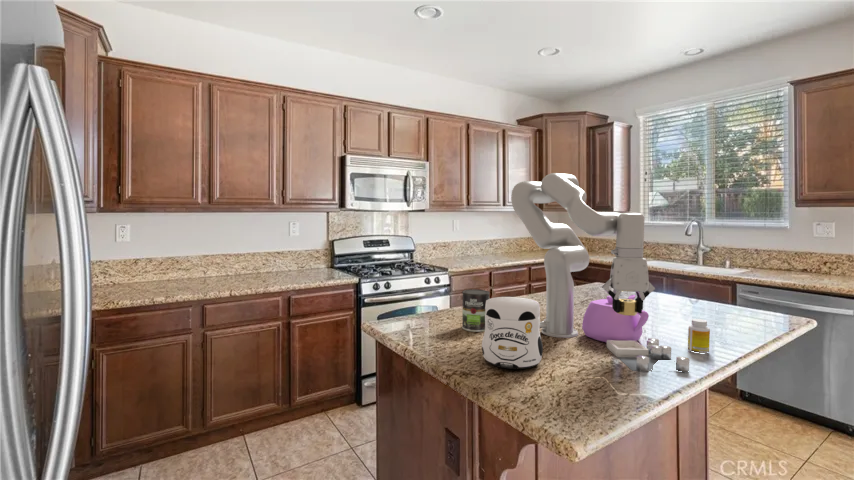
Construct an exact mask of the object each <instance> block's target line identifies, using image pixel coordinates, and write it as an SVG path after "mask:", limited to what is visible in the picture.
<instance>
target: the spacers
mask: <svg viewBox="0 0 854 480" xmlns="http://www.w3.org/2000/svg"><path fill="white" fill-rule="evenodd" d="M646 348H647V349H648V350H649V354H651V359H654V360H672V347H671V346H668V345H660V340H659V339H658V338H655V337H648V339H647V340H646ZM675 362H676V370H678V371H682V372H688V371H689V372H690V358H689V357H686V356H676V360H675ZM636 369H637V370H638V371H637V372H643V373H648V371H649V357H646V356H637V364H636ZM682 372H681V373H682Z"/></svg>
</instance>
